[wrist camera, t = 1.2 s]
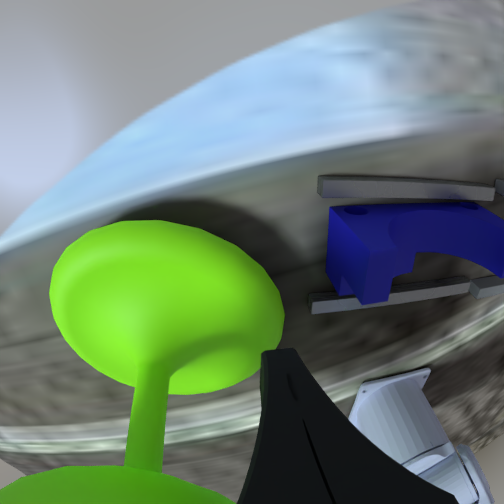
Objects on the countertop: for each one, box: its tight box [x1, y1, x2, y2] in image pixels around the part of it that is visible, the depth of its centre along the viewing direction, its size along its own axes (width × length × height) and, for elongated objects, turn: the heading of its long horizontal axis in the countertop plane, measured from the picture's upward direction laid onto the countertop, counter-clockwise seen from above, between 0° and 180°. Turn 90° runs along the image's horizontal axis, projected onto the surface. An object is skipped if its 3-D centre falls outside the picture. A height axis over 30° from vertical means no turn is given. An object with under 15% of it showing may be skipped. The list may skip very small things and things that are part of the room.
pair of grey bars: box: [308, 176, 496, 314], centre depth 20 cm, size 9×14×1 cm, turn 91°
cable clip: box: [326, 202, 504, 305], centre depth 18 cm, size 12×4×6 cm, turn 93°
